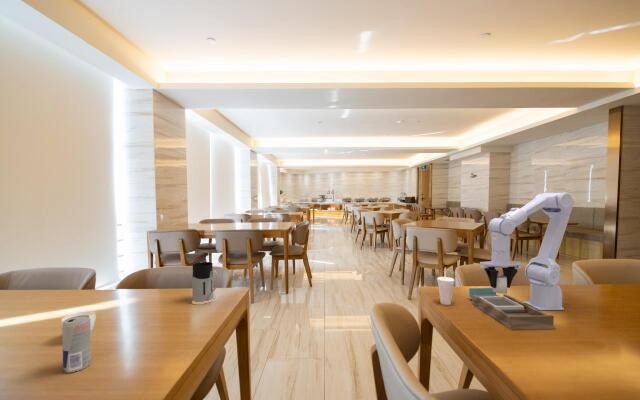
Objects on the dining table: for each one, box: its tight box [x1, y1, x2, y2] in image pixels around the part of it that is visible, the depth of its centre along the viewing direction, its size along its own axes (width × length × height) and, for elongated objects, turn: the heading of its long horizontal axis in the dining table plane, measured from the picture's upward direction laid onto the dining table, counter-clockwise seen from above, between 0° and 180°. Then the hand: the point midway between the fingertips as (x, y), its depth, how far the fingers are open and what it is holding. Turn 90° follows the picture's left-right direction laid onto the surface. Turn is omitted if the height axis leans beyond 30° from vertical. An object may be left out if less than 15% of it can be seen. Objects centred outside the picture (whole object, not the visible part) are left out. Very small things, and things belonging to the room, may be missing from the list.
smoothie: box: [436, 267, 455, 306], centre depth 113 cm, size 6×6×14 cm
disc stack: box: [493, 273, 508, 294], centre depth 107 cm, size 5×5×6 cm
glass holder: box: [191, 261, 219, 302], centre depth 115 cm, size 9×14×15 cm, turn 54°
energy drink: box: [61, 315, 92, 374], centre depth 72 cm, size 5×5×12 cm
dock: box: [470, 293, 556, 331], centre depth 102 cm, size 22×15×4 cm, turn 2°
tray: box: [468, 286, 526, 313], centre depth 109 cm, size 17×11×4 cm, turn 2°
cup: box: [60, 310, 97, 332], centre depth 87 cm, size 8×10×7 cm
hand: (500, 287), depth 107 cm, fingers closed on disc stack, 5 cm apart
